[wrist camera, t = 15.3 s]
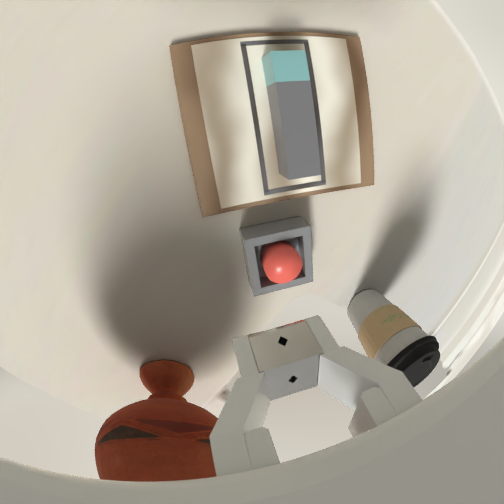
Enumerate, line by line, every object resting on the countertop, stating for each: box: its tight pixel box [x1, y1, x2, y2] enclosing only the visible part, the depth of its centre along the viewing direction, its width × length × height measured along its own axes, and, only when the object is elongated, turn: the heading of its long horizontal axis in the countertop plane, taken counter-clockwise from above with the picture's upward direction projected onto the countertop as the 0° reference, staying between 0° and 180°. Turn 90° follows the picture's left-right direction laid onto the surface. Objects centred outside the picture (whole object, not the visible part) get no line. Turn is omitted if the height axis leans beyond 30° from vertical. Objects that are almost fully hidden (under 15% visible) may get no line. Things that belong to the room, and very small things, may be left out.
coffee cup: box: [348, 289, 440, 387], centre depth 33 cm, size 9×9×15 cm
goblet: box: [95, 360, 218, 482], centre depth 28 cm, size 19×19×25 cm
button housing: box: [240, 216, 313, 296], centre depth 30 cm, size 7×7×3 cm
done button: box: [260, 240, 302, 284], centre depth 29 cm, size 4×4×3 cm
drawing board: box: [169, 32, 374, 217], centre depth 24 cm, size 20×18×1 cm
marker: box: [262, 50, 321, 180], centre depth 23 cm, size 12×3×3 cm, turn 9°
